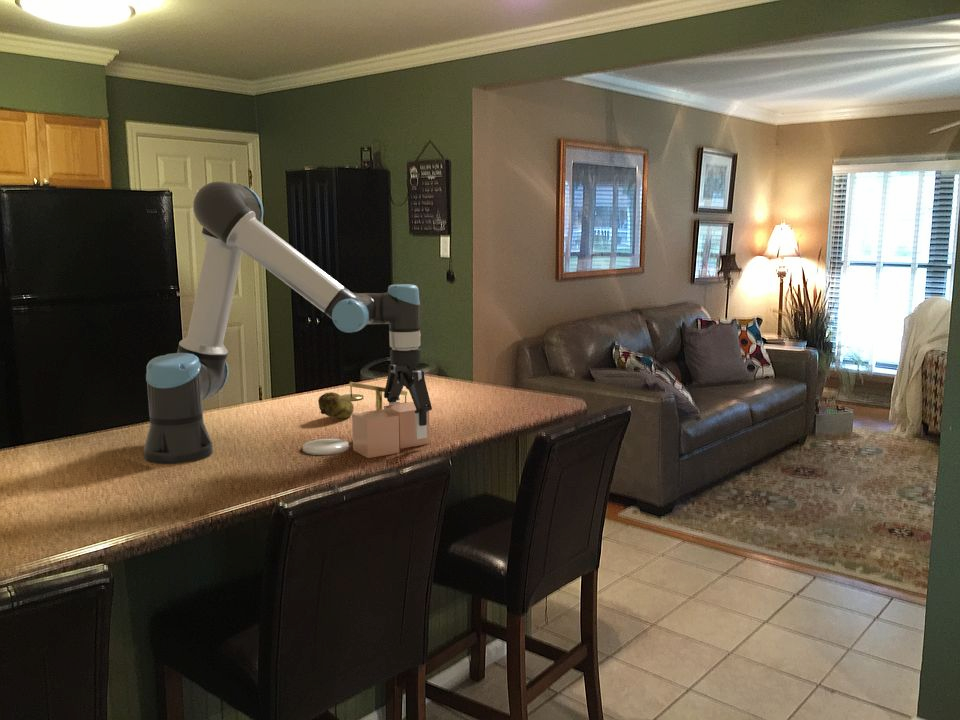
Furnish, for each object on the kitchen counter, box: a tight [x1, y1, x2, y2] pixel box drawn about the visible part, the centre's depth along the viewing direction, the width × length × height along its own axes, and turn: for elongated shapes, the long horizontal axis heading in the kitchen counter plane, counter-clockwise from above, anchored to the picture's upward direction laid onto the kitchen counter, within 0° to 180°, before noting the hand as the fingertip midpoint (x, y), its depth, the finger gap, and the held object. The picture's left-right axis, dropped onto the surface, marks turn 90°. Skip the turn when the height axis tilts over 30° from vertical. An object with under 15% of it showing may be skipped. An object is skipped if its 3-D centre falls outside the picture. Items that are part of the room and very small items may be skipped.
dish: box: [302, 438, 350, 456], centre depth 195 cm, size 11×11×1 cm
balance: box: [339, 381, 410, 410], centre depth 207 cm, size 21×6×15 cm, turn 124°
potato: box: [318, 392, 354, 420], centre depth 225 cm, size 8×13×8 cm, turn 140°
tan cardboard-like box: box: [351, 408, 400, 459], centre depth 192 cm, size 8×8×9 cm
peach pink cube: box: [383, 401, 431, 450], centre depth 200 cm, size 8×8×9 cm
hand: (407, 432), depth 200 cm, fingers open, 13 cm apart
